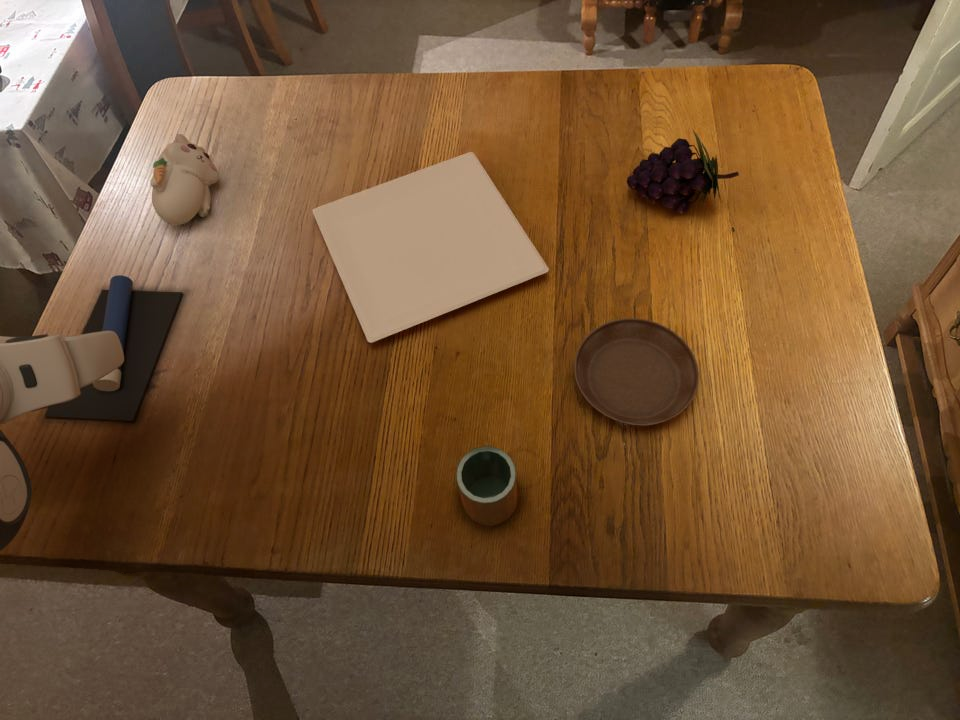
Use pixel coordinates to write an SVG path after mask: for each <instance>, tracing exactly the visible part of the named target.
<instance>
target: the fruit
mask: <svg viewBox="0 0 960 720" xmlns="http://www.w3.org/2000/svg"><path fill="white" fill-rule="evenodd" d="M692 131H693V134H694V137H695V141H696V144H697V147H696V145H694V144H690V143H689V141H688V140H687V139H685V138H680V137H678V138H677V139H676V140H675V141H674V142H673V143H672V144H670V146H664V147H663V148H662V149H661V150H660V151H659V153H658V152H657V153H656V152H650V154H649V155H648V156H647V159H642V160H641V161H639V165H637V166H636V167H634V168H633V170H632V172H631V173H632V174H630V175H629V176H627V178H626V184H627V187H629V189H630V190H631V191H635V193H636V195H637V196H638V197H646V199H647V201H648V202H649V203H650V204H654V205H657V203H658V202H660V201H661V202H662V205H663V207H665V208H667V209H672V211H673V212H676V213H678V214H684V213H685V212H687V211H688V210H689V208H690V205H691V204H694V205H693V206H692V208H694V207H695V205H696V204H697V203H698V201H699V200H700V199H701V198H702V196H703V199H702V203H701V205H700V206H701V207H703V205H704V203H705V201H706V198H707V196H708V195H711V190H712V195H713V201H715V200H716V197H717V196H716V195H718V198H719V201H720V203H722V200H721V193H720V185H719V180H723V179H724V180H727V179H732V178H737V177H739V176H740V173H739V171H735V172H730V173H726V174H719V163H718V158H717V155H715V156H712V157H710V155H709V152H708V149H707V147H706V146H705V145H704V143H703V142H702V141H701V139H700V138H699V135H698V133H696V131H695V130H694V129H692ZM691 147H694V149H695V151H696V152H693V150H692V149H691ZM694 155H695V156H696V158H693V156H694ZM697 191H699V193H698V195H697V197H696V198H695V199H694V201H690V200H691V199H692V198H693V197H694V196H696V195H695V194H696V192H697ZM701 207H700V208H701Z"/></svg>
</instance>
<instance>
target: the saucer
mask: <svg viewBox="0 0 960 720" xmlns="http://www.w3.org/2000/svg"><path fill="white" fill-rule="evenodd" d="M573 368H574V378H575V381H576V384H577V386H578V388H579V390H580V393H581V394H582V396H583V397H584V398H585V401H587V402H588V403H589V404H590V405H591V406H592V407H593V408H594V409H595V410H597V411H598V412H599V413H600V414H602V415H603V416H606V417H607V418H610V419H611V420H614V421H616V422H619V423H623V424H626V425H631V426H652V425H658V424H661V423H665V422H667V421H670V420H672V419H673V418H676V417H677V416H678V415H680V414H681V413H682V412H684V410H685V409H687V408H688V406H689V405H690V404H691V403H692V401H693V399H694V398H695V396H696V393H697V390H698V388H699V387H698V386H699V383H700V382H699V380H700V373H699V366H698V362H697V359H696V356H695V354H694V353H693V351H692V349H691V348H690V346H689V344H688V343H687V342H686V341H685V340H684V339H683V338H682V337H680V335H678V334H677V333H676V332H675V331H673V330H672V329H670V328H669V327H667V326H665V325H663V324H660V323H659V322H656V321H652V320H649V319H643V318H635V317H634V318H632V317H630V318H619V319H613V320H611V321H610V320H609V321H608V322H604V323H603V324H601V325H599V326H597V327H596V328H594V329H593V330H591V332H590V333H588V334H587V335H586V336H585V337H584V338H583V340H582V341H581V343H580V345H579V346H578V348H577V350H576V354H575V358H574V366H573Z"/></svg>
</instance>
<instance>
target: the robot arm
mask: <svg viewBox="0 0 960 720" xmlns="http://www.w3.org/2000/svg"><path fill="white" fill-rule="evenodd" d="M123 362H124V354H123V350H122V346H121V343H120V340H119V338H118V336H117V334H116V333H115V332H114V331H100V332H94V333H88V334H82V333H81V334H76V335H70V336H69V335H68V336H63V334H60V333H52V334H51V333H50V334H48V333H46V334H38V335H36V334H35V335H28V336H27V335H25V336H24V335H23V336H4V335H3V336H2V335H0V425H5V424H8V423H9V422H11V421H13V420H15V419H17V418H19V417H21V416H24V415H25V414H28V413H34V412H36V411H39V410H40V411H41V410H43V409H45V408H46V409H48V407H50V406H54V405H58V404H61V403H64V402H67V401H70V400H73V399H75V398H76V397H78V396H79V395H80V394H81V393H80V388H82V387H85V386H87V385H90V384H92V383H94V382H96V381H98V380H100V379H101V378H103V377H104V376H106V375H108V374H109V373H111V372H112V371H114V370H115V369H117V368H118V367H120V366H121V365H122V364H123ZM32 491H33V490H32V483H31V478H30V476H29V472H28V470H27V466H26V463H25V462H24V460H23V458H22V456H21V455H20V453H19V452H18V450H17V449H16V447H15V446H14V445H13V443H12V442H11V441H10V440H9V438H8V437H7V436H6V435H5V433H4V432H3V431H2V430H1V429H0V552H2V551H3V550H4V549H6V548H7V546H8V545H9V544H10V543H11V542H12V541H13V540H14V539H15V537H16V536H17V535H18V533H19V532H20V530H21V528H22V526H23V524H24V522H25V519H26V517H27V515H28V512H29V508H30V504H31V500H32V493H33V492H32Z"/></svg>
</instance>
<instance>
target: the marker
mask: <svg viewBox="0 0 960 720" xmlns="http://www.w3.org/2000/svg"><path fill="white" fill-rule="evenodd" d="M133 286H134V282H133V280H132V279H131V278H130V277H129V276H126V275H122V274H121V275H119V274H118V275H117V274H116V275H114V276H112V277H111V278H110V281H109V286H108V290H109V292H108V299H107V305H106V311H105V318H104V324H103V330H102V331H114V332H115V333H116V334H117V336H118V338H119V340H120V343H121V346H122V350H123V353H124V346H125V338H126V331H127V324H128V316H129V309H130V301H131V294H132V291H133ZM121 368H122V365H121V366H120V367H118V368H117V369H115V370H114V371H112V372H111V373H109V374H108V375H106V376H104V377H103V378H101V379H100V380H98V381H96V382H94V383H93V386H94V387H95V388H96V389H98V390H101V391H115V390H117V389H119V387H120V382H121V374H122V373H121Z"/></svg>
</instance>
